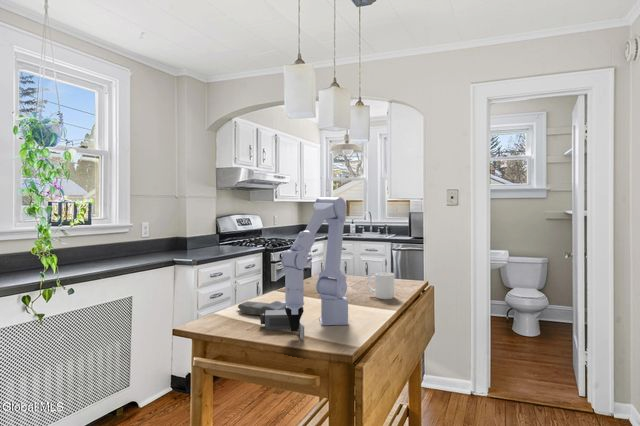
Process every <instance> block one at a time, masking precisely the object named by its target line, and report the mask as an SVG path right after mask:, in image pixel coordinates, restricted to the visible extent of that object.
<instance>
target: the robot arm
mask: <svg viewBox="0 0 640 426" xmlns="http://www.w3.org/2000/svg"><path fill="white" fill-rule="evenodd" d="M312 207H313V208H312V209H313V212H312V215H311V216H310V219H309V221H308V223H307V225H306V227H305V229H304V230H302V231H300V232H299V233H298V234H297V237H296V238H295V240H294V241H293V243H292V245H291V246H290V248H289V249H288V250H286V251H285V252H284V253H283V254H282V256H281V259H280V263H281V266H282V268H283V273H284V275H285V276H284V278H285V279H284V280H285V285H284V287H285V295H284V297H285V300H284V301H281V302H282V305H285V306H286V314H287V316H288V318H289V322H290V328H291V329H290V331H291V333H292V332H299V323H300V319H302V316H303V315H304V307H303V306H304V305H305V301H304V296H305V295H304V292H305V291H304V269H305V268H306V266H307V265H308V261H309V260H308V259H309V253H310V251H311V250H312V247H313V245H314V244H315V242H316V238H315V235H316V233H317V232H318V230H319V229H320V227H322V225H323V223H324V221H325V222H326V223H327V224H328V233H327V243H326V254H325V264H324V265H325V267H324V269H323V270H322V271H320V272H319V273H318V277H317V281H316V283H315V285H316V286H315V288H316V292H317V294H318V295H319V297H320V298H321V305H320V306H321V308H320V309H321V315H320V316H321V317H319V322H320V323H319V324H320V326H343V325H346V326H348V325H349V299H348V296H346V294H347V291H348V285H347V276H346V275H345V274H344V273H343V272H342V271H341V261H342V249H343V238H344V225H345V222H346V218H347V217H346V216H347V209H348V206H347V203H346V201H345V200H344V198H343V197H322V196H321V197H320V196H319V197H317V198H316V200H315V201H314V203H313V205H312Z"/></svg>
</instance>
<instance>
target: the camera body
mask: <svg viewBox="0 0 640 426" xmlns="http://www.w3.org/2000/svg"><path fill="white" fill-rule="evenodd" d="M260 325H264V331H274V330H275V331H279V330H282V331H284V330H285V331H286V330H291V328H290V322H289V318H288V316H287V314H286V310H266V312H265V314H261V315H260Z"/></svg>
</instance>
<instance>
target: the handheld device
mask: <svg viewBox="0 0 640 426" xmlns="http://www.w3.org/2000/svg"><path fill="white" fill-rule="evenodd" d="M282 302H283V301H278V300H276V301H272V302H271V303H270V302H269V303H268V302H263V301H262V302H260V301H244V302H241V303H239V304H238V306H237V308H238V309H239V311H240V313H241V314H246V315H255V316H256V315H259V316H261V314H265V312H266V310H286V308H287V306H285V305H282Z"/></svg>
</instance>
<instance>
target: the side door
mask: <svg viewBox="0 0 640 426" xmlns="http://www.w3.org/2000/svg"><path fill="white" fill-rule="evenodd" d="M298 332H299V333H298V334H299V338H300V340H303V339H304V338H305V325H304V324H303V319H302V318H301V319H300V323H299V329H298Z"/></svg>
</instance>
